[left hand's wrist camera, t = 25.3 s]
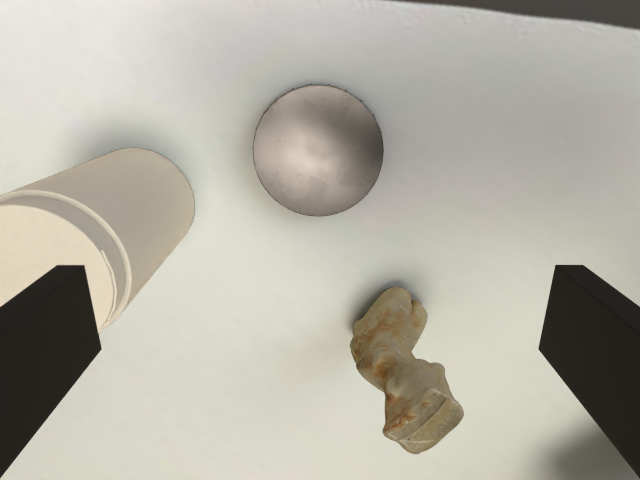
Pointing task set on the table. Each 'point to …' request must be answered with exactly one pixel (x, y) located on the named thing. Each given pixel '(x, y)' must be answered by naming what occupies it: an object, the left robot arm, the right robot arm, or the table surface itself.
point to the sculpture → (404, 372)
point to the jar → (96, 226)
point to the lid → (318, 150)
